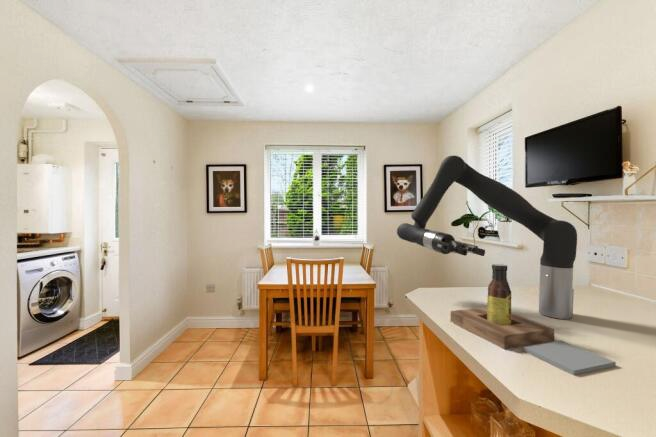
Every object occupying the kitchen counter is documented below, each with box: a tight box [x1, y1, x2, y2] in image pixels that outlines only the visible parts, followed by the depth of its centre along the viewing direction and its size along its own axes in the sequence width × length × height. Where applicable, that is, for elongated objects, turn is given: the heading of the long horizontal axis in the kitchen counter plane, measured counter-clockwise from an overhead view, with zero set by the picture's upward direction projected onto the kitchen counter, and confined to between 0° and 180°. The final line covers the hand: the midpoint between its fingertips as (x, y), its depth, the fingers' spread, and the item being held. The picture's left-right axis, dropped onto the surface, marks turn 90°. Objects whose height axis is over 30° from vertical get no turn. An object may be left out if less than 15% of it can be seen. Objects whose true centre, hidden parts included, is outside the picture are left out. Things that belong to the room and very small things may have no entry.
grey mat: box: [522, 340, 617, 376], centre depth 74 cm, size 14×12×1 cm
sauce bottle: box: [486, 263, 512, 326], centre depth 90 cm, size 6×6×20 cm
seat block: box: [449, 306, 555, 350], centre depth 90 cm, size 18×20×4 cm
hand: (475, 252), depth 99 cm, fingers open, 8 cm apart
